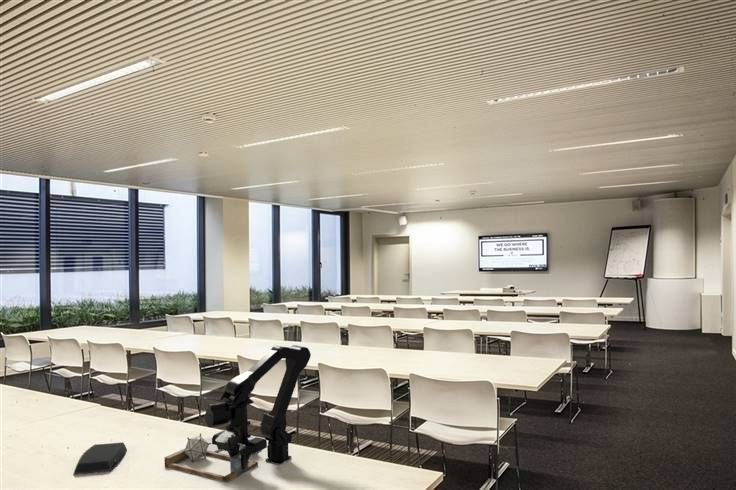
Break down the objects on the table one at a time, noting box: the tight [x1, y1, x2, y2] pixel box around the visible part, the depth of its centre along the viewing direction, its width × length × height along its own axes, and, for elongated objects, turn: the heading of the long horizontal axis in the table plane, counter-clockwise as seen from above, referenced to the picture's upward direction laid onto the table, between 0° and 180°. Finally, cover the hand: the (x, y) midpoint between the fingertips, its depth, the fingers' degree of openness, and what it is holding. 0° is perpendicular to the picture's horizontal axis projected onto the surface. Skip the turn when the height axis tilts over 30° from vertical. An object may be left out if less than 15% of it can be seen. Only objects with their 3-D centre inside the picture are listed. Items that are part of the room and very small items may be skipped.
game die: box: [182, 433, 211, 464], centre depth 183 cm, size 9×8×10 cm
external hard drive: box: [73, 442, 128, 476], centre depth 183 cm, size 13×19×4 cm
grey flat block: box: [203, 435, 257, 456], centre depth 192 cm, size 26×10×6 cm, turn 61°
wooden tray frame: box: [164, 448, 259, 483], centre depth 177 cm, size 28×14×6 cm, turn 61°
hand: (239, 468), depth 171 cm, fingers open, 3 cm apart
